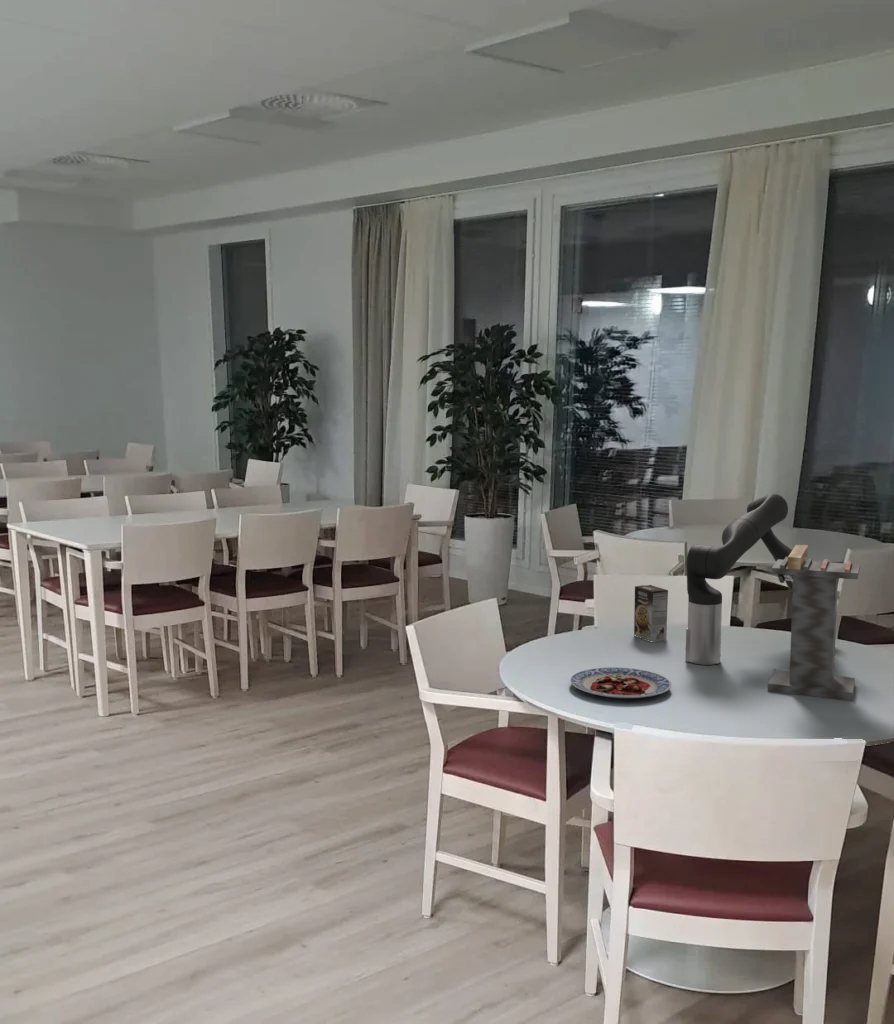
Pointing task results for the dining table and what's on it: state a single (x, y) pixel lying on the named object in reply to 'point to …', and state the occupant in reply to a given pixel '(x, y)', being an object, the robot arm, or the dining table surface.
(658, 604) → the printed cardboard box
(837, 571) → the grey pedestal stand
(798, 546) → the oak bar
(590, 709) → the dining table surface
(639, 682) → the ceramic plate
